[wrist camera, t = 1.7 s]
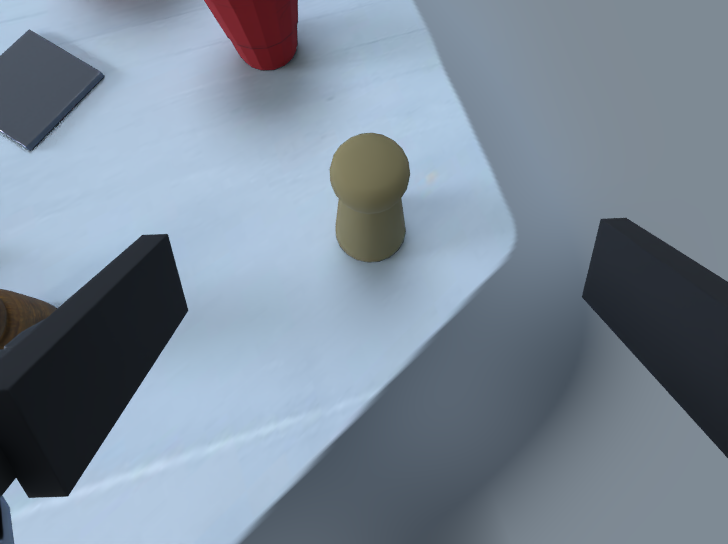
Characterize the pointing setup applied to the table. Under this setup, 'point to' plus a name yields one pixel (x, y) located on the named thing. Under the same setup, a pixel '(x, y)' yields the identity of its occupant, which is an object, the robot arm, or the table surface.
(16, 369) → the robot arm
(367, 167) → the cork
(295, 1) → the plastic cup
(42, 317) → the utensil holder
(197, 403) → the table surface
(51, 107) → the slate coaster
